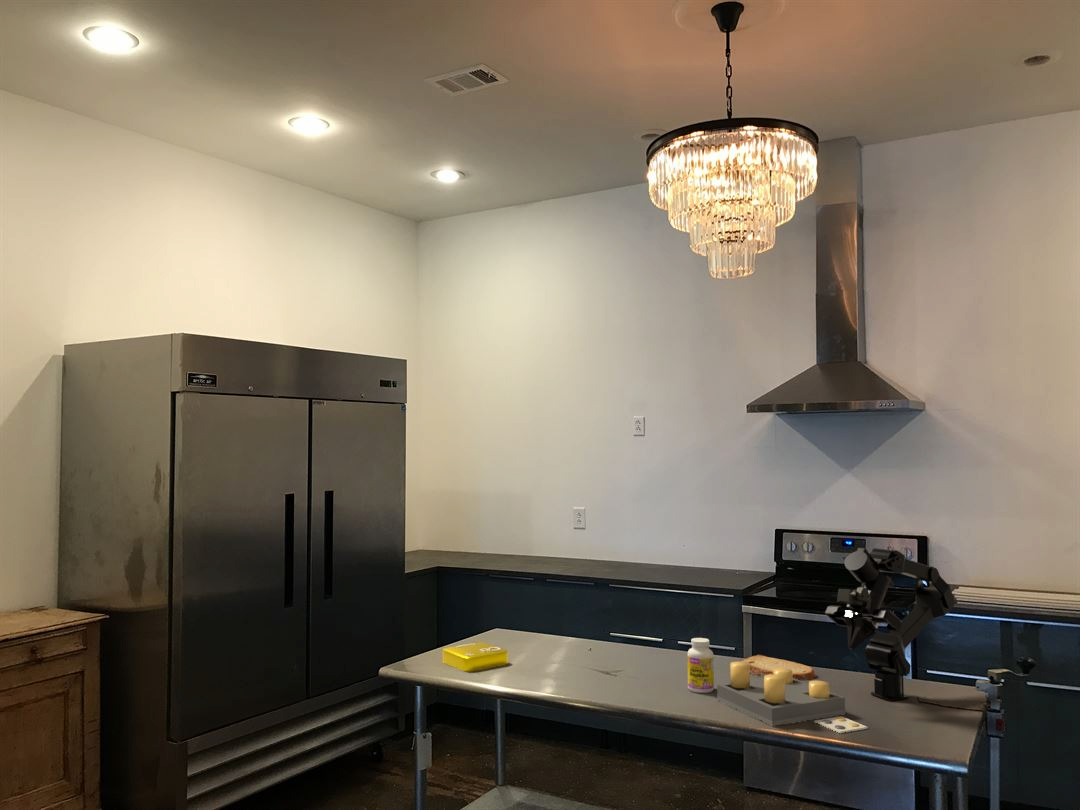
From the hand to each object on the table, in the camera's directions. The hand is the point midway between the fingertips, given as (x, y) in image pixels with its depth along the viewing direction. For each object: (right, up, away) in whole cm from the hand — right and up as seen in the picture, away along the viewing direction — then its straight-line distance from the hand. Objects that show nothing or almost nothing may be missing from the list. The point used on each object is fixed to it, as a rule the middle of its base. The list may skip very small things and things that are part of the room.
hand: (850, 648), depth 198 cm
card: (-7, -13, -13) cm, 20 cm away
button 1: (-26, -10, +4) cm, 28 cm away
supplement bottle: (-33, -15, +15) cm, 39 cm away
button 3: (-14, -13, +9) cm, 21 cm away
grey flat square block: (-17, -14, 0) cm, 22 cm away
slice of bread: (-9, -17, +32) cm, 37 cm away
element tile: (-94, -18, +44) cm, 105 cm away
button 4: (-9, -12, -3) cm, 16 cm away
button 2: (-21, -9, -8) cm, 24 cm away
